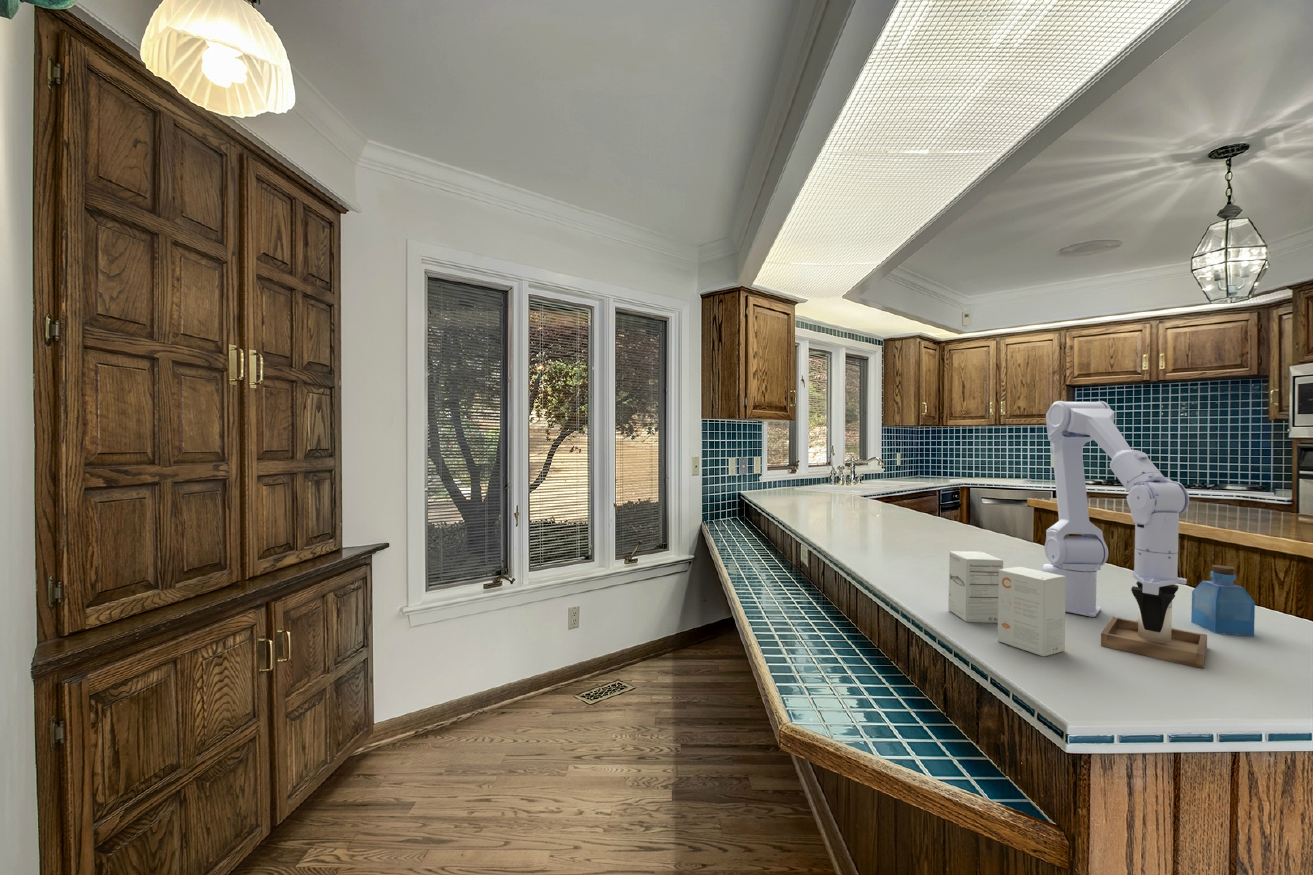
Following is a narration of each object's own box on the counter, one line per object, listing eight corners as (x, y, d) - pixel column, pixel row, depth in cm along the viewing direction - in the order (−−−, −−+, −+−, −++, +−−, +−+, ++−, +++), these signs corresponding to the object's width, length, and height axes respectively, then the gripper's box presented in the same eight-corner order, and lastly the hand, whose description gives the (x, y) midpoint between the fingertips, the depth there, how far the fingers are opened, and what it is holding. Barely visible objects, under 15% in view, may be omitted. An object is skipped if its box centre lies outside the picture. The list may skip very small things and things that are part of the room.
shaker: (1136, 637, 100) (1137, 598, 100) (1139, 631, 103) (1140, 593, 103) (1169, 644, 97) (1170, 604, 97) (1172, 638, 100) (1173, 598, 100)
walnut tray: (1100, 645, 100) (1101, 633, 100) (1112, 628, 109) (1113, 616, 109) (1202, 668, 91) (1203, 654, 91) (1206, 647, 100) (1207, 634, 100)
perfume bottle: (1254, 635, 106) (1255, 571, 106) (1214, 633, 107) (1216, 569, 107) (1228, 624, 112) (1229, 563, 112) (1191, 622, 113) (1192, 562, 113)
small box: (1065, 651, 98) (1067, 575, 97) (1043, 657, 95) (1045, 579, 95) (1018, 635, 105) (1019, 565, 105) (996, 641, 102) (997, 568, 102)
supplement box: (947, 610, 119) (948, 550, 119) (983, 611, 119) (984, 551, 119) (964, 622, 112) (966, 558, 112) (1003, 623, 112) (1004, 559, 111)
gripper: (1183, 560, 92) (1181, 644, 92) (1190, 547, 102) (1188, 623, 102) (1127, 553, 97) (1125, 632, 97) (1138, 542, 107) (1137, 613, 107)
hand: (1154, 627), depth 100 cm, fingers closed on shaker, 4 cm apart
